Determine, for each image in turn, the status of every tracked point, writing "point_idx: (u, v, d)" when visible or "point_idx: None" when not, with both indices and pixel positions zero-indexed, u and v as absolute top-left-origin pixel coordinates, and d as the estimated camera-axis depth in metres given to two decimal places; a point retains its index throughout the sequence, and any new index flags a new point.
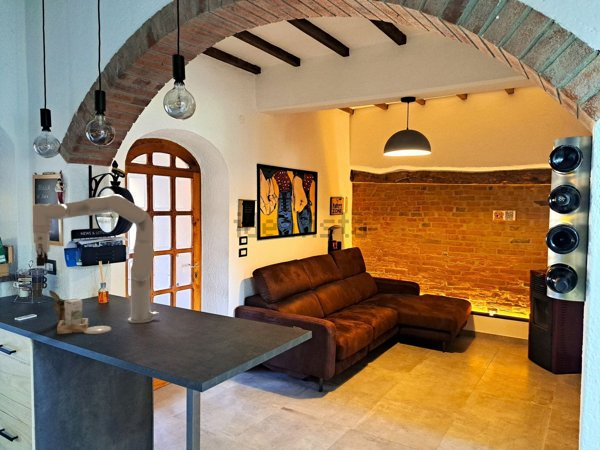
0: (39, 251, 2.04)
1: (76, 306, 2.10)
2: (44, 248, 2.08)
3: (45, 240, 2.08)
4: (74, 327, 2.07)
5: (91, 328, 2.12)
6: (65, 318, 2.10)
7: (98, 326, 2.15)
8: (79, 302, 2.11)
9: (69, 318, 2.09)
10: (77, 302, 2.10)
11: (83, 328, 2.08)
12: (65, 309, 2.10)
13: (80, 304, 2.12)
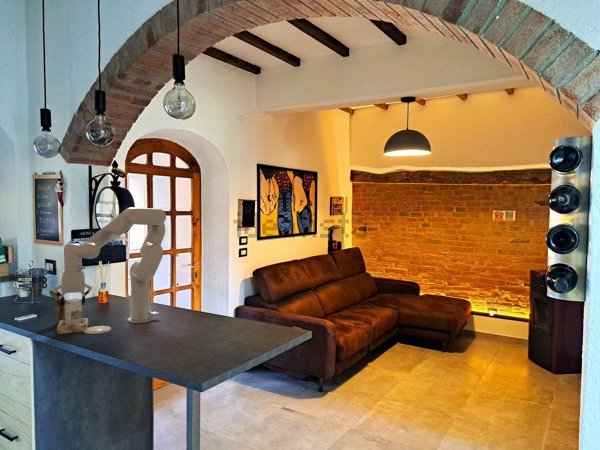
0: None
1: (76, 306, 2.10)
2: None
3: None
4: (74, 327, 2.07)
5: (91, 328, 2.12)
6: (65, 318, 2.10)
7: (98, 326, 2.15)
8: (79, 302, 2.11)
9: (69, 318, 2.09)
10: (76, 302, 2.10)
11: (83, 328, 2.08)
12: (65, 309, 2.10)
13: (80, 304, 2.12)
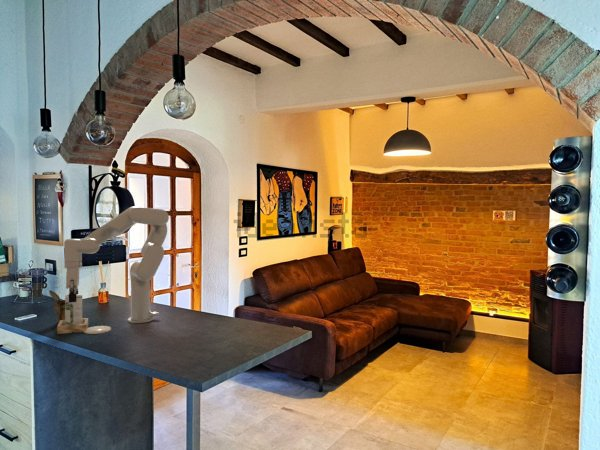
0: None
1: None
2: None
3: None
4: (74, 327, 2.07)
5: (91, 328, 2.12)
6: (73, 314, 2.09)
7: (98, 326, 2.15)
8: None
9: (80, 312, 2.12)
10: None
11: (83, 328, 2.08)
12: (73, 305, 2.09)
13: None
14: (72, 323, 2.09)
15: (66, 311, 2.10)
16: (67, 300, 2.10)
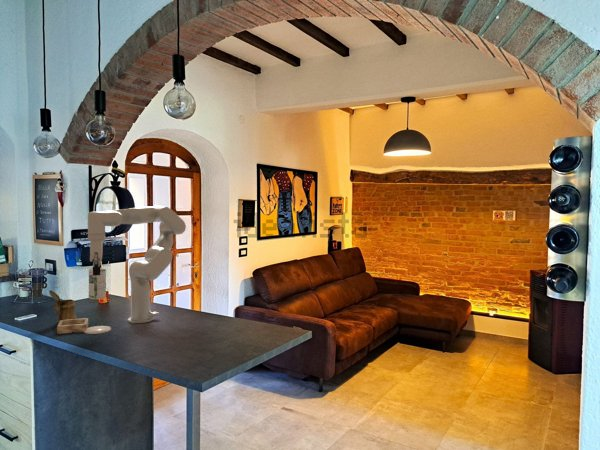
0: None
1: None
2: None
3: None
4: (74, 327, 2.07)
5: (91, 328, 2.12)
6: (97, 287, 2.07)
7: (98, 326, 2.15)
8: None
9: (103, 285, 2.10)
10: None
11: (83, 328, 2.08)
12: (97, 278, 2.07)
13: None
14: (96, 296, 2.07)
15: (90, 285, 2.08)
16: (91, 273, 2.08)
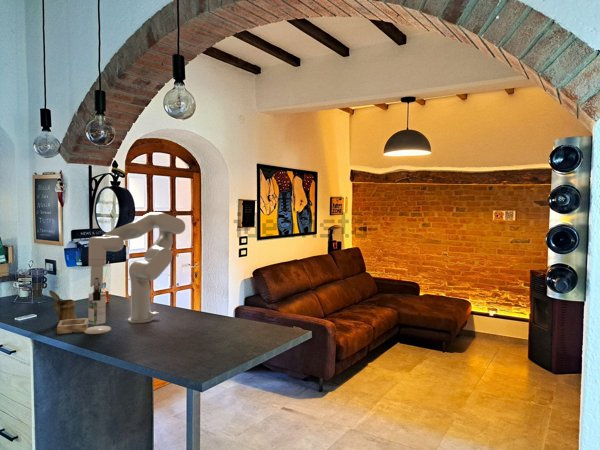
0: None
1: None
2: None
3: None
4: (74, 327, 2.07)
5: (91, 328, 2.12)
6: (97, 313, 2.07)
7: (98, 326, 2.15)
8: None
9: (103, 310, 2.10)
10: None
11: (83, 328, 2.08)
12: (97, 303, 2.07)
13: None
14: (96, 322, 2.07)
15: (90, 310, 2.08)
16: (91, 298, 2.08)
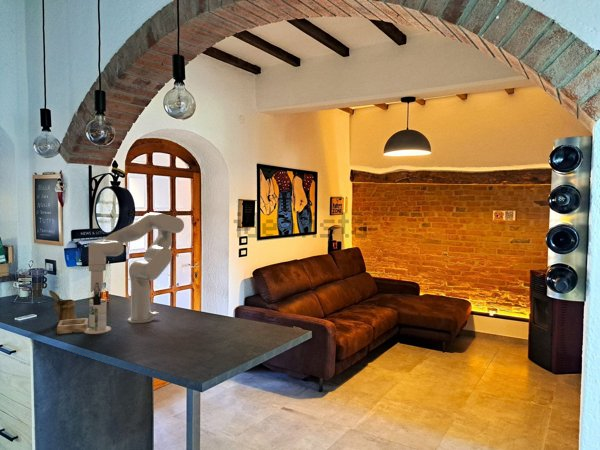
0: None
1: None
2: None
3: None
4: (74, 327, 2.07)
5: None
6: (98, 319, 2.08)
7: None
8: None
9: (104, 316, 2.10)
10: None
11: (83, 328, 2.08)
12: (98, 310, 2.08)
13: None
14: (97, 328, 2.07)
15: (91, 316, 2.09)
16: (91, 304, 2.08)
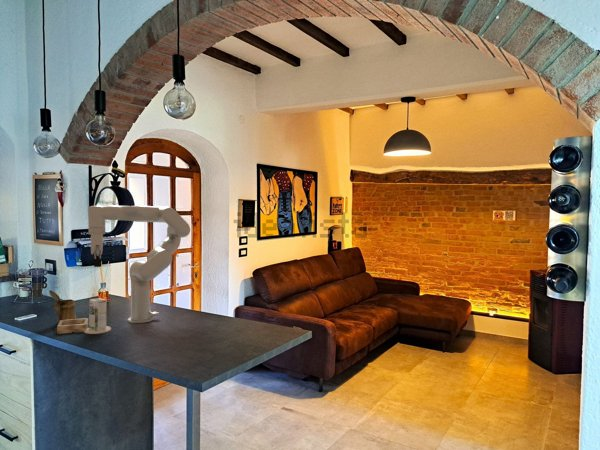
0: None
1: None
2: None
3: None
4: (74, 327, 2.07)
5: None
6: (98, 319, 2.08)
7: None
8: None
9: (104, 316, 2.10)
10: None
11: (83, 328, 2.08)
12: (98, 310, 2.08)
13: None
14: (97, 328, 2.07)
15: (91, 316, 2.09)
16: (91, 304, 2.08)
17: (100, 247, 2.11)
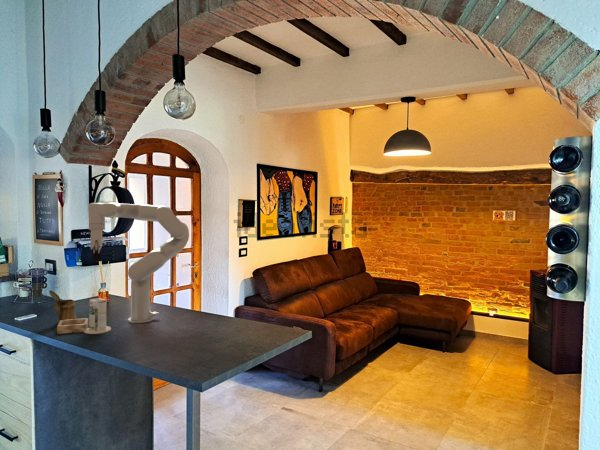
0: None
1: None
2: None
3: None
4: (74, 327, 2.07)
5: None
6: (98, 319, 2.08)
7: None
8: None
9: (104, 316, 2.10)
10: None
11: (83, 328, 2.08)
12: (98, 310, 2.08)
13: None
14: (97, 328, 2.07)
15: (91, 316, 2.09)
16: (91, 304, 2.08)
17: (99, 242, 2.20)
